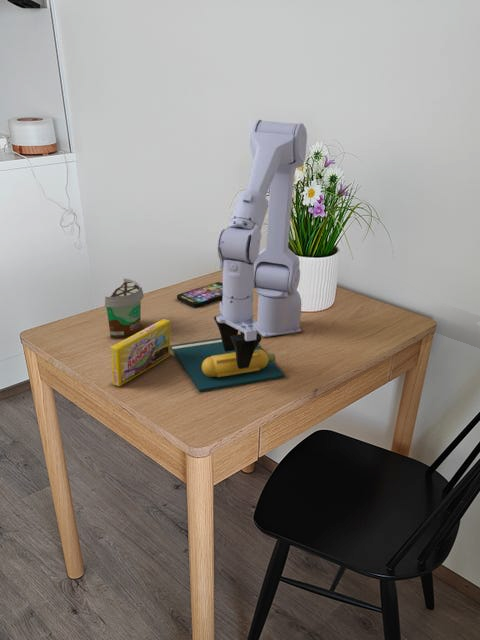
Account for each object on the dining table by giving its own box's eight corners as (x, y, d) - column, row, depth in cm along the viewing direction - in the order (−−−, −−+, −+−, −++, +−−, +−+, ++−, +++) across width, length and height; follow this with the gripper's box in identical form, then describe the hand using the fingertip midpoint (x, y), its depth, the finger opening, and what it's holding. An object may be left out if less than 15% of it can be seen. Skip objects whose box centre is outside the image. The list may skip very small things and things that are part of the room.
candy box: (120, 388, 121) (117, 349, 117) (112, 385, 122) (108, 346, 118) (171, 356, 133) (170, 320, 128) (163, 353, 134) (162, 317, 129)
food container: (135, 343, 138) (131, 300, 132) (108, 340, 138) (104, 297, 133) (152, 321, 148) (150, 280, 142) (127, 318, 149) (124, 277, 143)
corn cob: (199, 375, 126) (198, 355, 124) (270, 363, 131) (269, 344, 129) (205, 381, 123) (204, 361, 121) (278, 369, 128) (278, 350, 126)
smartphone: (239, 289, 163) (195, 304, 154) (239, 293, 163) (195, 308, 154) (218, 281, 167) (174, 295, 158) (218, 284, 168) (174, 298, 159)
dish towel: (247, 336, 142) (247, 333, 142) (284, 377, 127) (285, 374, 126) (170, 347, 136) (170, 344, 136) (199, 392, 121) (199, 389, 121)
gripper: (204, 282, 122) (205, 345, 129) (231, 311, 111) (230, 378, 118) (239, 278, 124) (237, 341, 131) (268, 306, 113) (264, 373, 120)
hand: (236, 358), depth 125 cm, fingers open, 7 cm apart
